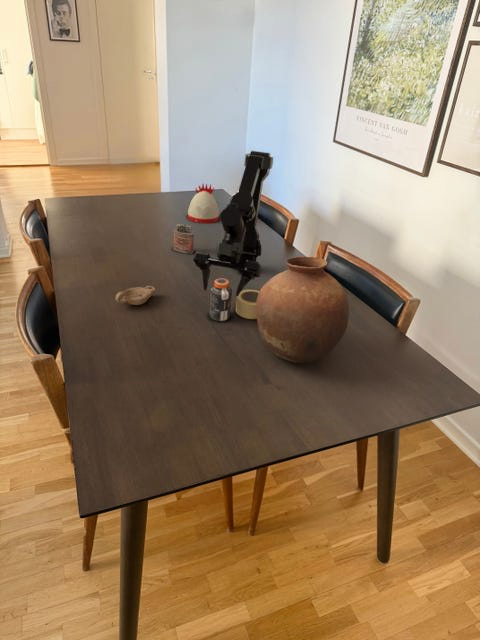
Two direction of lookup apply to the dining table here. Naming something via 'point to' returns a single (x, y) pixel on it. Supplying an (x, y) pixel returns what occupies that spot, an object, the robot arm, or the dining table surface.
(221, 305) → the pill bottle
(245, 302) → the tape roll
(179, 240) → the red upright container
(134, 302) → the oil lamp
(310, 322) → the pottery
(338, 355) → the dining table surface
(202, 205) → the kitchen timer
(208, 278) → the robot arm
